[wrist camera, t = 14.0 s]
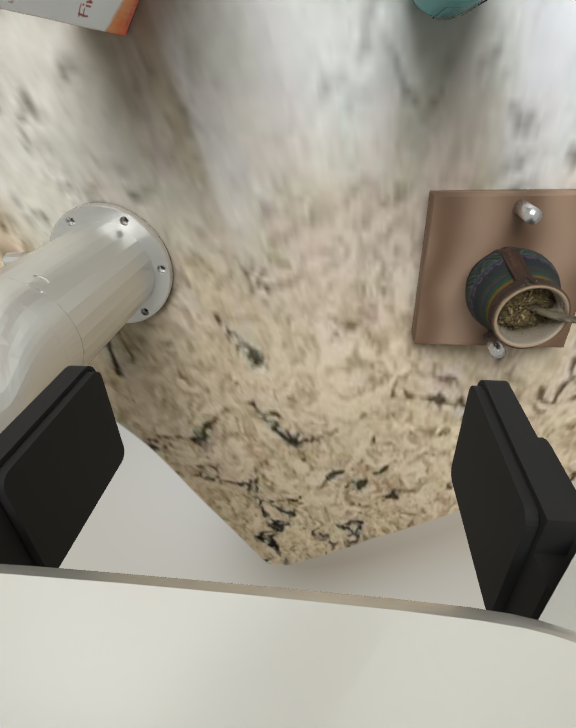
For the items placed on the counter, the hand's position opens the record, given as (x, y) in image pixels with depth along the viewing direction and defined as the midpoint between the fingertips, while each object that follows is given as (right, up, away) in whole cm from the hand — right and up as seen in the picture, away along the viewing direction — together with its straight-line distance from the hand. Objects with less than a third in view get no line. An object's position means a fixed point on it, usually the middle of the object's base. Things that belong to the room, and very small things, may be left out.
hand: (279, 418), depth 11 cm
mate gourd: (+19, +9, +28) cm, 36 cm away
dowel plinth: (+20, +10, +30) cm, 38 cm away
